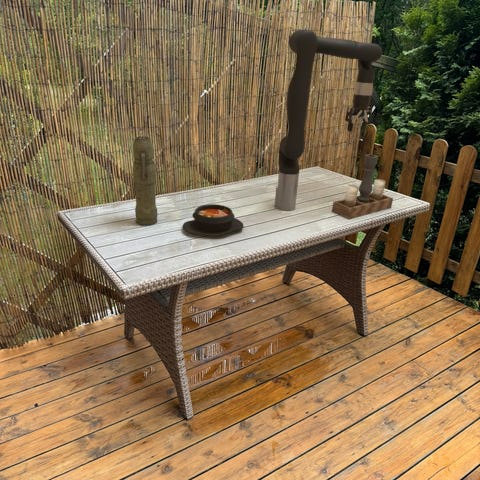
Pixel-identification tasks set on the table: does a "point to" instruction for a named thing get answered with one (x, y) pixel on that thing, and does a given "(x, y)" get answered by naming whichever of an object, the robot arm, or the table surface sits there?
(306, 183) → the table surface
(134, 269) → the table surface
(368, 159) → the candle holder
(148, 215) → the carved stone statue
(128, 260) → the table surface
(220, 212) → the casserole
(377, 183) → the wooden candle tray
